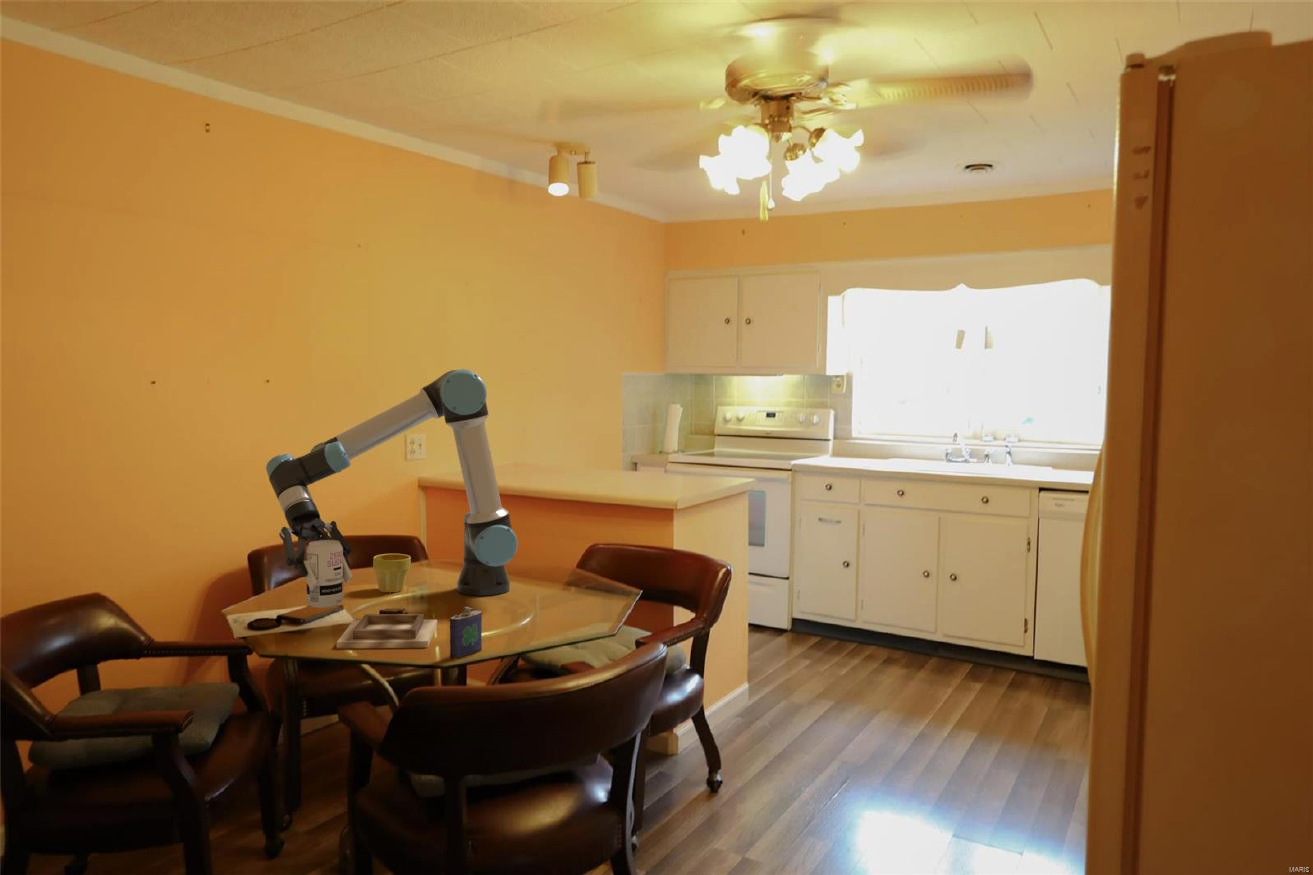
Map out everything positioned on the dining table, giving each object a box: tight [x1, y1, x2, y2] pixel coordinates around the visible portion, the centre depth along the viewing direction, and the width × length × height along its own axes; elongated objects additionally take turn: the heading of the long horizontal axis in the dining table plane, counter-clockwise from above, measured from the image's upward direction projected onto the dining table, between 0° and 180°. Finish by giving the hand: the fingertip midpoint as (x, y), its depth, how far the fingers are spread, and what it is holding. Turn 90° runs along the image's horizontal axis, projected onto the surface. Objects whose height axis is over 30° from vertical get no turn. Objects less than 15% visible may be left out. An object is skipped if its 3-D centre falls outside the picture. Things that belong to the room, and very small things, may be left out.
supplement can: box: [305, 540, 344, 609], centre depth 209 cm, size 8×8×15 cm
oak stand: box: [336, 613, 438, 650], centre depth 206 cm, size 20×18×4 cm
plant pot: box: [372, 553, 412, 594], centre depth 250 cm, size 10×10×10 cm
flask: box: [449, 606, 483, 660], centre depth 195 cm, size 9×3×11 cm, turn 148°
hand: (331, 583), depth 207 cm, fingers closed on supplement can, 8 cm apart
